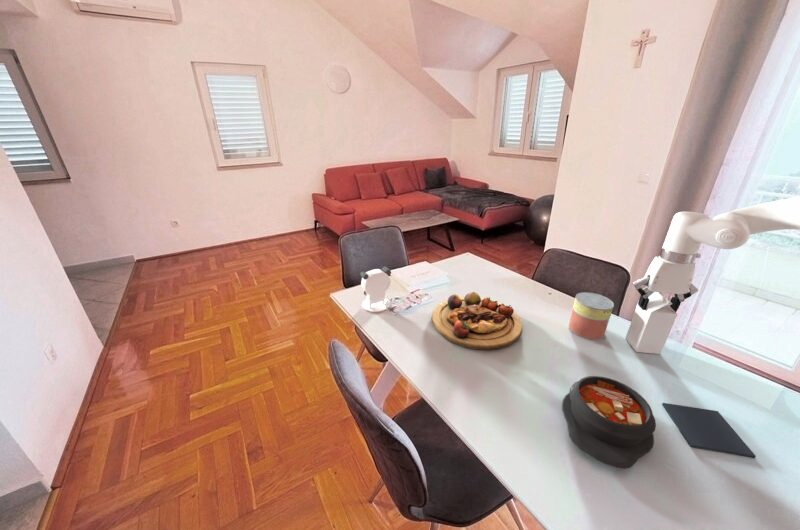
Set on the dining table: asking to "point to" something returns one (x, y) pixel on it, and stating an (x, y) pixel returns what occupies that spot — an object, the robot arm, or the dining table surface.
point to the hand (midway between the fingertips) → (656, 308)
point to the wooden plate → (477, 322)
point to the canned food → (590, 315)
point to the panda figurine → (375, 289)
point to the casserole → (609, 421)
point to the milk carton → (651, 325)
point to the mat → (707, 430)
